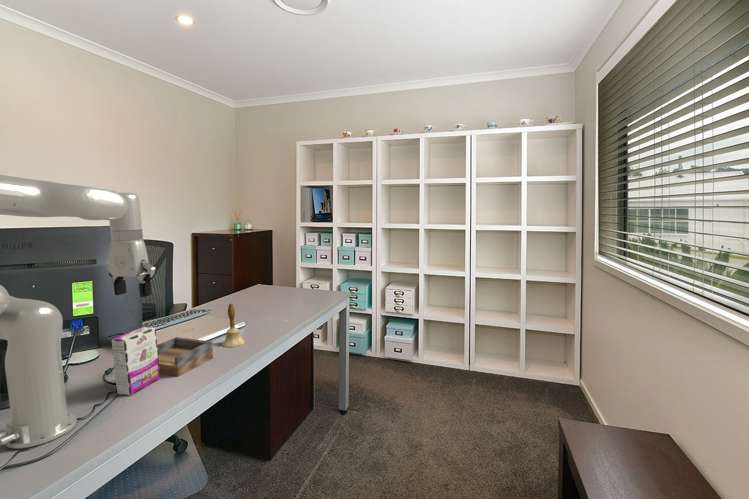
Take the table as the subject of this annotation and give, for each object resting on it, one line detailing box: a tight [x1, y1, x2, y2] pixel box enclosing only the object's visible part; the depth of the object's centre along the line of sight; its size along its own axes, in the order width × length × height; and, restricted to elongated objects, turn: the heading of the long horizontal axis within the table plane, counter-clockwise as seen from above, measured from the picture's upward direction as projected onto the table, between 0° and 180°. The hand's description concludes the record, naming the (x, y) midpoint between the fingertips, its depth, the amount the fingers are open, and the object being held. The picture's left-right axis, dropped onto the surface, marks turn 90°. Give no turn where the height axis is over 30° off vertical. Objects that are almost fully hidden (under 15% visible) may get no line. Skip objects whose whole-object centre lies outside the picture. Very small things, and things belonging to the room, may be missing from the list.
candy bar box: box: [111, 326, 161, 396], centre depth 108 cm, size 11×5×16 cm, turn 168°
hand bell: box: [221, 303, 246, 348], centre depth 142 cm, size 8×8×16 cm
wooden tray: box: [157, 336, 214, 377], centre depth 124 cm, size 15×16×6 cm
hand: (133, 295), depth 106 cm, fingers open, 9 cm apart
